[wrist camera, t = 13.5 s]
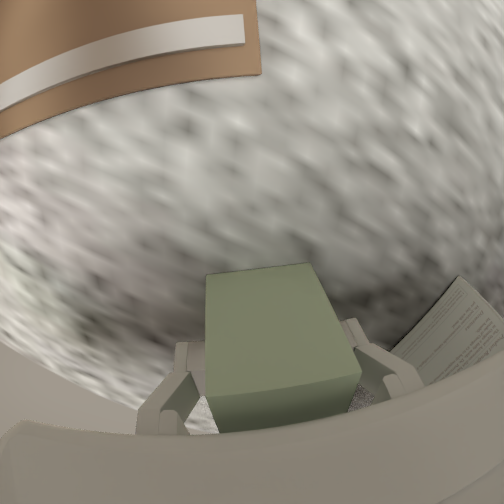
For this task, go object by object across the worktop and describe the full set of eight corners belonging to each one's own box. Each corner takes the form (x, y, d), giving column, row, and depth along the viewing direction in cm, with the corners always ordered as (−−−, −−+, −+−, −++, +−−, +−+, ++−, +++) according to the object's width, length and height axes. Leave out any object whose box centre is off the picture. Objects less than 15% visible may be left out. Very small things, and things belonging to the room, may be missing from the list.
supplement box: (429, 369, 20) (490, 489, 9) (382, 353, 17) (457, 519, 6) (490, 305, 17) (573, 419, 6) (460, 269, 14) (581, 425, 4)
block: (309, 262, 13) (362, 371, 8) (305, 334, 15) (338, 433, 10) (205, 274, 13) (205, 396, 7) (220, 345, 15) (227, 451, 10)
